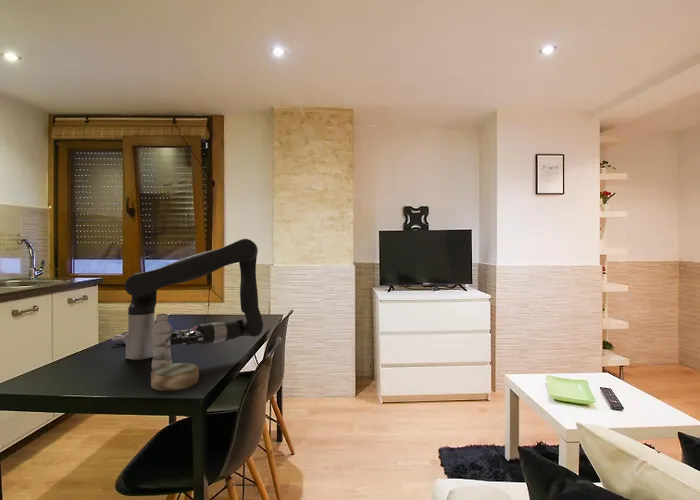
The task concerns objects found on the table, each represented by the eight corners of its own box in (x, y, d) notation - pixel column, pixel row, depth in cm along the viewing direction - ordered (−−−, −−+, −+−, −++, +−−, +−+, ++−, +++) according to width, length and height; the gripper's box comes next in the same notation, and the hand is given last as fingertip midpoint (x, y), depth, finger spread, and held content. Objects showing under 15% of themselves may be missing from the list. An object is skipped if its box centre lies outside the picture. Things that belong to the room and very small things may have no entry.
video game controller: (188, 343, 182) (194, 330, 181) (180, 339, 182) (187, 325, 182) (200, 339, 191) (206, 326, 191) (193, 334, 192) (199, 322, 191)
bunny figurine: (149, 336, 172) (111, 334, 168) (147, 348, 172) (109, 346, 168) (153, 331, 181) (117, 329, 177) (152, 342, 181) (116, 340, 177)
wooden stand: (142, 390, 118) (142, 375, 118) (162, 375, 132) (162, 362, 132) (189, 390, 118) (189, 375, 118) (204, 375, 132) (204, 362, 132)
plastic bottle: (158, 376, 131) (158, 316, 131) (147, 372, 135) (147, 315, 134) (176, 371, 136) (176, 314, 136) (164, 368, 140) (164, 312, 140)
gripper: (204, 320, 153) (160, 325, 142) (219, 326, 142) (173, 332, 131) (204, 339, 153) (159, 346, 142) (219, 346, 142) (173, 354, 131)
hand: (166, 339), depth 136 cm, fingers open, 8 cm apart
